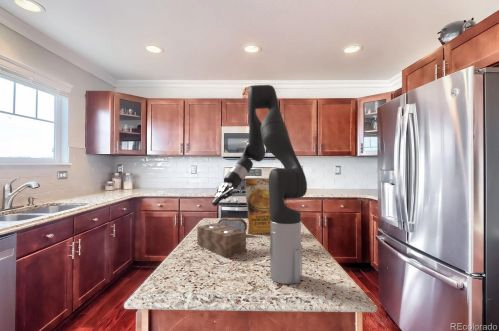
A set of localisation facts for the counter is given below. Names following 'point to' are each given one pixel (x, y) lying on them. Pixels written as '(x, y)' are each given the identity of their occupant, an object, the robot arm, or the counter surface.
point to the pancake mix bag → (258, 205)
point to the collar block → (221, 240)
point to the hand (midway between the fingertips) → (213, 204)
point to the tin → (234, 223)
